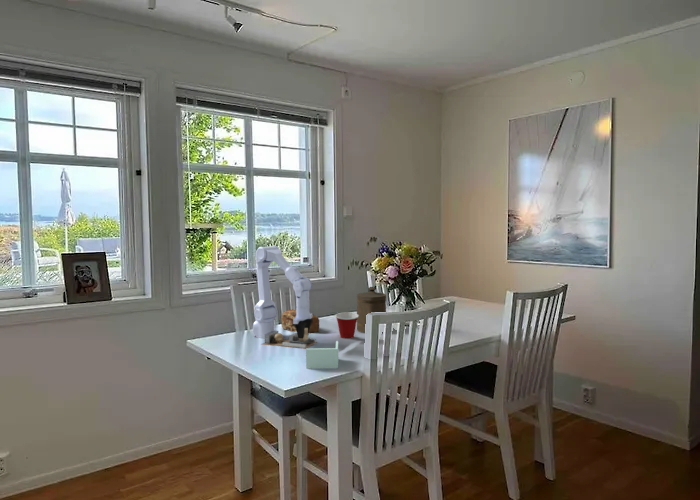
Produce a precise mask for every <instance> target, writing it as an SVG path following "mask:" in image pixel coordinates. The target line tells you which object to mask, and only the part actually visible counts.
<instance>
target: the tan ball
mask: <svg viewBox="0 0 700 500" xmlns="http://www.w3.org/2000/svg"><path fill="white" fill-rule="evenodd" d="M274 339H275V341H276V343H281V342H282V340H283V339H284V335H283V334H282V333H280V332H278V333H277V334H276V335H275V337H274Z"/></svg>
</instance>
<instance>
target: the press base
mask: <svg viewBox="0 0 700 500" xmlns="http://www.w3.org/2000/svg"><path fill="white" fill-rule="evenodd" d="M277 333H279V330H274V331H271V332H269V333H267V334H265V339H264V342H263V343H261V345H264V346H274V347H283V348H292V349H293V348H294V349H301V350H302V349H304V350H306V349H309V347H311V346H313V345H315V344H317V343H318V341H317V339H316V338H310V343H309V344H307V345H306V344H300V343H289V338H283V340H282V342H281V343H276V341H275V339H274V337H275V335H276V334H277Z"/></svg>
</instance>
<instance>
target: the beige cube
mask: <svg viewBox="0 0 700 500" xmlns="http://www.w3.org/2000/svg"><path fill="white" fill-rule="evenodd" d="M288 339H289V343H300V344H306V345H307V344H309V343H310V339H311V338H310V337H309V335H308V328H305V329H304V337H303V338H298V335H297V332H293V333H292V334H291V335H289V338H288Z"/></svg>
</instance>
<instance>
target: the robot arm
mask: <svg viewBox="0 0 700 500" xmlns="http://www.w3.org/2000/svg"><path fill="white" fill-rule="evenodd" d="M255 261H256V263H255V265H256V276H257V277H256V278H257V290H258V291H257V292H258V302H256V304H255V305H254V314H253V315H254V318H255V321H254V322H253V323H252V338H255V339H257V338H258V339H264V340H265V334H267V333H269V332H271V331H275V320H276V318H277V317H278V309H277V307H276V302H275V301H273V300H272V297H271V296H272V295H271V284H270V283H271V282H270V272H269V271H270V270H269V266H271V264H272V263H275V264H276V265H278V266H279V268H280V269H282V270H283V271H284V277H286V279H287V280H288V281H289V283H291V284H292V289H293V291H294V296H295V302H296V303H295V305H296V308H295V310H296V317H295V319H293V325H294V327H295V328H296V331H297V332H296V333H297V335H298V338H303V337H304V329H305V328H308V336H309V334H310V333H309V330H310V326H311V324H312V322H313V319H311V318H312V314H313V313H312V312H310V291H311V290H312V288H313V283H312V280H311V279H310V278H309V277H306V276H304V275H303V274H301V272H300V271H299V269H298V268H297V267H295V266H291V265H290V263H289V262H288V260H287V259H286V258H285V257H284V255H283V254H282V249H280V248H279V247H278V246H277V245H273V246H272V245H271V246H269V245H268V246H259V247H258V248H257V249H256V251H255Z"/></svg>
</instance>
